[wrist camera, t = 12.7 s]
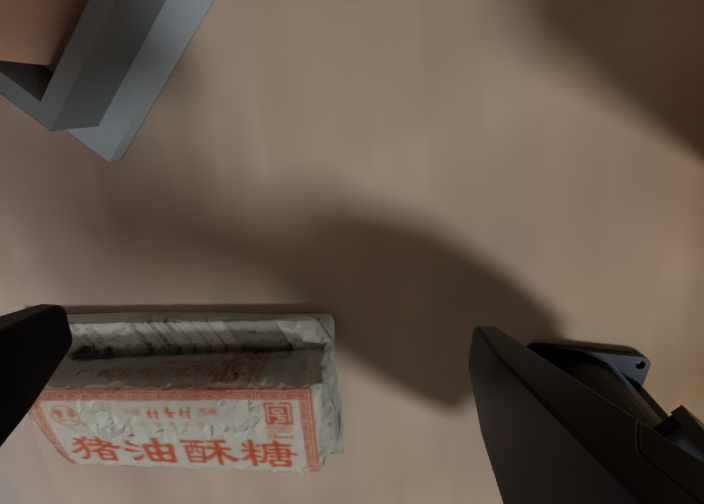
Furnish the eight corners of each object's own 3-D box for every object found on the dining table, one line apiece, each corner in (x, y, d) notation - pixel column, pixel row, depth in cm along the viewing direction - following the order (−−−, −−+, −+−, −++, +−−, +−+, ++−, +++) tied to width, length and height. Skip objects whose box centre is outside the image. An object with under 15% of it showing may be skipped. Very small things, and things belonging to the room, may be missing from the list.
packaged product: (324, 353, 19) (338, 507, 23) (335, 305, 24) (346, 439, 27) (-28, 355, 21) (35, 498, 24) (46, 309, 25) (90, 435, 29)
